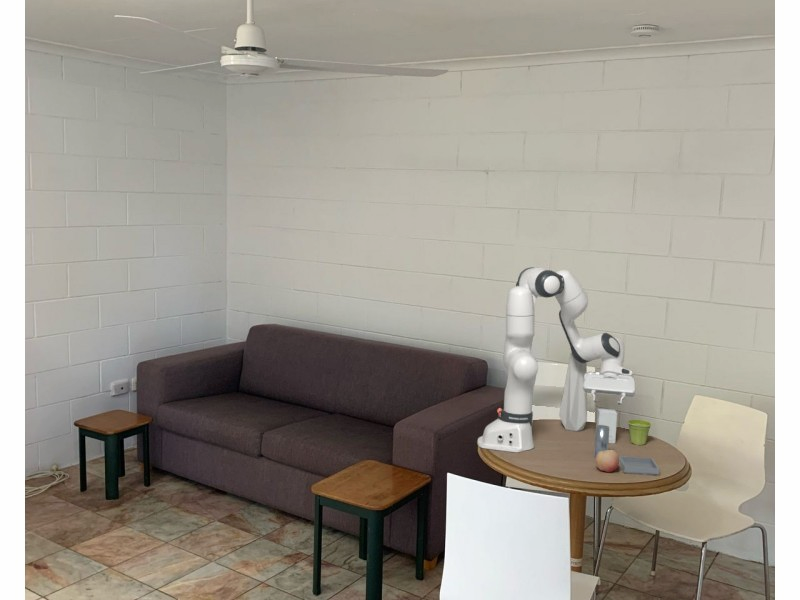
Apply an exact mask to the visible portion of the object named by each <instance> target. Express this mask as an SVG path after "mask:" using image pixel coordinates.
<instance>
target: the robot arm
mask: <svg viewBox="0 0 800 600" xmlns="http://www.w3.org/2000/svg"><path fill="white" fill-rule="evenodd" d="M538 297H541V298H547V299H548V298H552V297H554V298H555V299H556V300H557V302H558V304H559V307H560V309H559V312H558V316H559V317H558V318H559V322H560V324H561V326H562V329H563V331H564V335H565V336H566V339H567V341H568V344H569V346H570V351H571V352H570V353H572V355H573V357H574V358H575V359H576V360H577V361H578V362H580V363H586V362H587V363H589V362H591V361H594V360H599V359H601V363H600V369H599V371H598V372H597V371H596V372H595V371H594V372H593V371H587V373H586V374H585V375H584V380H585V381H584V384H583V390H584V391H585V392H586V393H587V394H591V397H592V398H593V403H598V396H596V395H597V394H598V395H606V396H607V395H609V396H619V397H621V398H618V399H617V405H623V402H624V400H625V399H626V397H629V398H633V397H635V396H636V383H635V379H634V373H633V371H632V370H630V369H627V368H625V367H623V364H624V361H625V346H624V342H623V341H622V340H621V339H620V338H619V337H615V336H613V335H612V334H610V333H607V332H604V333H603V332H602V333H599V334H595V335H591V336H588V337H582V336H581V335H580V333H579V331H578V328H577V326H576V324H575V323H576V322H575V320H576V319H577V318H579V317H580V316H582V314H583V313H584V312H585V311H586V310H587V307H588V304H589V298H588V295H587V293H586V292H585V290H584V288H583V287H582V285H581V283H580V282H579V281H578V279H577V278H576V277H575V276H574V275H573V274H572V272H571V271H570V270H568V269H559V270H557V271H556V272H555V271H554V270H550V269H545V268H543V267H526V268H524V269H523V270H522V271H521V272H520V273H519V276H518V278H517V281H516V284H515V286H514V287H512V288H510V290H508V294H507V299H506V307H505V340H504V346H503V347H504V348H503V357H502V358H503V359H502V361H503V363H502V364H503V365H504V367H505V369H506V370H507V373H508V375H507V381H506V387H505V389H504V396H503V397H504V398H503V409H502V407H499V408H497V410H496V411H497V413H498V415H497V417H498V418H497V419H495V420H494V421H492V422H490V423H489V424H487V425H486V426H485V428H484V430H483V434H482V435H481V436H479V437H478V438H477V442H476V443H477V446H478V447H480V448H482V449H488V450H493V451H494V450H497V451H503V452H512V453H521V452H525V451H529V450H532V449H533V448H535V445H534V444H535V443H534V439H533V428H532V426H533V421H534V414H533V413H534V412H533V396H534V388H535V384H536V379H537V374H538V372H539V364H538V361H537V358H536V356H535V355H533V354H532V346H533V340H534V336H535V306H536V300H537V298H538Z"/></svg>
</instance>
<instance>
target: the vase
mask: <svg viewBox="0 0 800 600" xmlns="http://www.w3.org/2000/svg"><path fill="white" fill-rule="evenodd" d="M568 360H569V361H568V364H567V365H568V366H567V371H566V376H565V381H564V386H563V391H562V398H561V404H560V408H559V414H558V415H559V418H560V421H561V422H562V424H563V427H564V429H565V430H567V431H572V432H580V431H583V430H584V428H585V426H586V423H587V421H588V393H586V392H585V391H584V390H583V384H584V381H585V380H584V375H585V374H586V373H588V371H587V370H588V369H587V366H588V365H587V364H588V362H586V363H580V362H578V361H577V360H576V359H575V358H574V357H573V355H572V352H570V355H569V359H568Z"/></svg>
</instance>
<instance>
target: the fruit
mask: <svg viewBox="0 0 800 600" xmlns="http://www.w3.org/2000/svg"><path fill="white" fill-rule="evenodd" d="M595 465H596V467H597V468H598V470H599V471H601V472H606V473H612V472H614V471H616V470H617V468H618V467H619V465H620V464H619V454H618V453H617V452H616V451H615V449H608V450H605V451H600V452H598V454H597V455H596V458H595Z"/></svg>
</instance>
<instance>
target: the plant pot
mask: <svg viewBox="0 0 800 600" xmlns="http://www.w3.org/2000/svg"><path fill="white" fill-rule="evenodd" d="M627 424H628V428H629V440H630V443H631V444H634V445H637V446H643V445H646V444H647V441H648V435H649V433H650V432H649V431H650V429H651V426H652V422H650V421H648V420H644V419H629V420H627Z"/></svg>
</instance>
